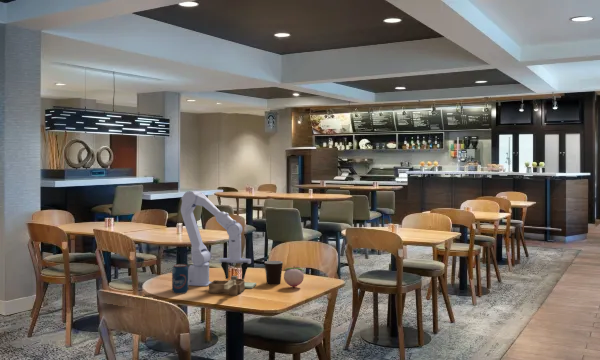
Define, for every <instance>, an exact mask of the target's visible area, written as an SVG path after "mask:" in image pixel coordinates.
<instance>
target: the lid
mask: <svg viewBox="0 0 600 360" xmlns="http://www.w3.org/2000/svg"><path fill="white" fill-rule="evenodd" d="M236 279H238V275H231V276H230V280H236ZM256 285H257V282H245V289H254V287H255V286H256Z"/></svg>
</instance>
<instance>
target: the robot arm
mask: <svg viewBox="0 0 600 360" xmlns="http://www.w3.org/2000/svg"><path fill="white" fill-rule="evenodd" d="M180 199H181V206H180V214H181V217H182V219H183V223H184V226H185V229H186V232H187V236H188V238H189V242H190V245H191V250H190V253H191V258H190V260H191V263H192V264H191V265H189V266H188V286H194V287H195V286H196V287H198V286H199V287H200V286H201V287H207V286H208V287H209V284H210V283H211V282H212V281H210V263H209V262H210V261H211V258H212V254H211V252H210V251H209V250H208V248H207V246H206V245H205V244H204V242H203V239H202V235H201V233H200V229H199V226H198V224H197V221H196V217H195V214H194V210H195V209H196V207H197V206H198V207H199V206H200V207H203V208H205V210H207V211H208V212H209V213H210V214H212V215H213V216H214V217H215V221H216V222H217V224H219V225H220V226H221V227H222V228H223V229H224V230H226V233H227V235H228V257H220V258H219V259H218V260H219V261H218V262H219V264H220V266H221V268H222V271H223V272H224V276H225V279H226V280H227V279H228V280H229V276H230V275H229V267H230V266H229V265H230V263H231V264H241V265H240V266H241V279H244V280H245V277H246V273H247V270H248V268H249V265H250V264H251V263H252V258H246V257H245V258H243V257H242V233H243V229H244V228H243V225H242V224H241V223H240V222H238V221H237V220H236V219H233V218H232V217H231V216H230V213H228V212H225V211H220V209H219V208H217V206H216V205H215V204H214V203H213V202H212V201H211V200H210V199H209V198H208V197H207V196H206V195H205V194H204V193H203V192H202V191H200V190H198V189H195V190H192V191H191V190H188V191H185V192H184V193H183V196H182V197H181V198H180Z"/></svg>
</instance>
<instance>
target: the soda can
mask: <svg viewBox="0 0 600 360" xmlns="http://www.w3.org/2000/svg"><path fill="white" fill-rule="evenodd" d="M171 269H172V271H171V289H172V292H173V293H174V294H176V293H182V294H185V293H188V290H189V285H188V269H189V266H187V264H185V263H177V264H173V267H172V268H171Z"/></svg>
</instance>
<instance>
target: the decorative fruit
mask: <svg viewBox="0 0 600 360" xmlns="http://www.w3.org/2000/svg"><path fill="white" fill-rule="evenodd" d="M284 271H285V272H284V273H283V279H284V281H285V283H286V284H287V285H288V286H290V287H291V288H296V287H298V286H299V285H301V284H302V283H303V281H304V278H305V277H304V276H305V275H304V272H305V270H304V269H303V268H301V267H286V268H285V269H284Z"/></svg>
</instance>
